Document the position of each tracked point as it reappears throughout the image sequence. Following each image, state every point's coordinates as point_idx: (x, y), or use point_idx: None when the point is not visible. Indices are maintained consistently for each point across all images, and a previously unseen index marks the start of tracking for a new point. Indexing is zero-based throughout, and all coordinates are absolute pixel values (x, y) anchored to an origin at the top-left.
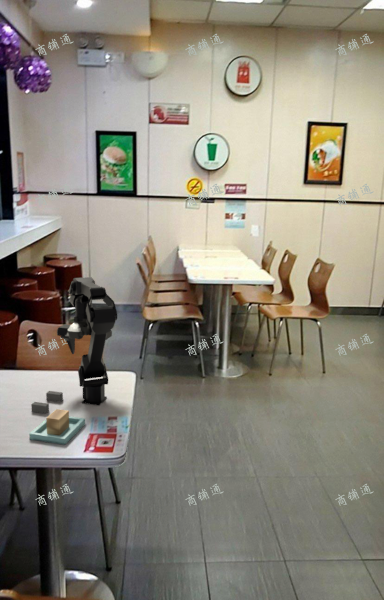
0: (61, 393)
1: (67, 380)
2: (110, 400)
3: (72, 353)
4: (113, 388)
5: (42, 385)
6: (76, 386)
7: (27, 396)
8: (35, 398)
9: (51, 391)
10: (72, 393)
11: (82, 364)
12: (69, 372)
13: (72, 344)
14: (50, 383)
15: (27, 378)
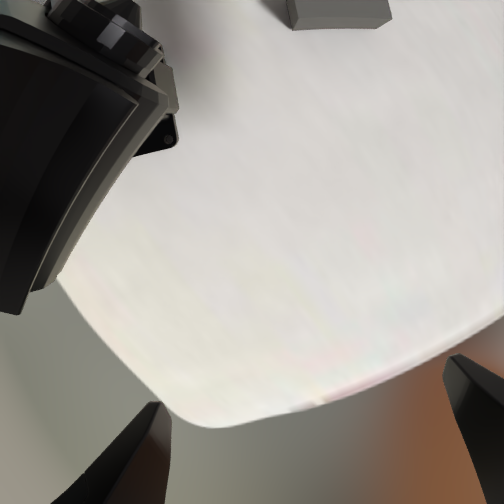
0: (295, 5)
1: (413, 271)
2: None
3: (456, 357)
4: (136, 287)
5: (486, 168)
6: (334, 226)
7: (471, 30)
8: (430, 14)
9: (373, 12)
10: (298, 130)
11: (34, 16)
12: (435, 342)
13: (501, 443)
14: (468, 204)
15: None
